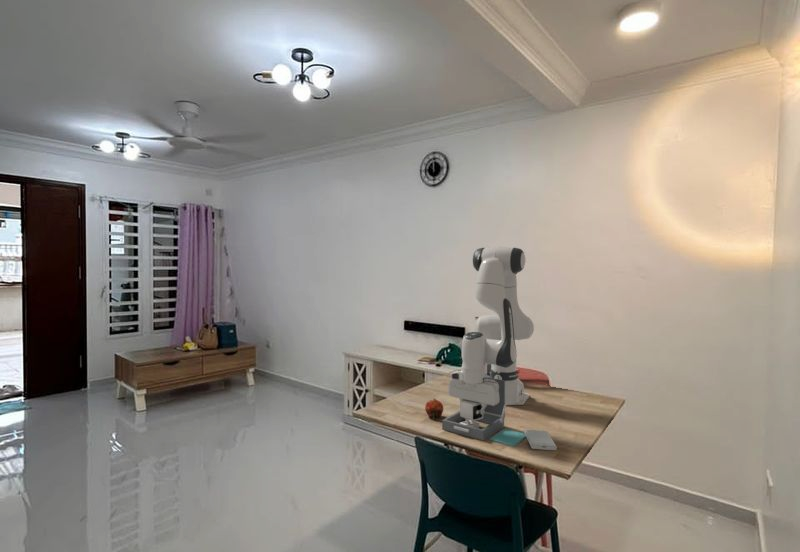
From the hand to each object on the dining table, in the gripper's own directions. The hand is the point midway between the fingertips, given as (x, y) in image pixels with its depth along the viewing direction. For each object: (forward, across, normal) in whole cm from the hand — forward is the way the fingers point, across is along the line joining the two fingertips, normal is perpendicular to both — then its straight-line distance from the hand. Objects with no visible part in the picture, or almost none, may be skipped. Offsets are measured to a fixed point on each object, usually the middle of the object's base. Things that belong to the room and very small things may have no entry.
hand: (473, 412), depth 162 cm
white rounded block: (+6, +1, 0) cm, 6 cm away
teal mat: (+6, -15, +1) cm, 16 cm away
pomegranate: (+6, +18, 0) cm, 19 cm away
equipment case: (+6, 0, 0) cm, 6 cm away
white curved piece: (+7, +26, -70) cm, 75 cm away
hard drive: (+6, -25, -2) cm, 26 cm away
